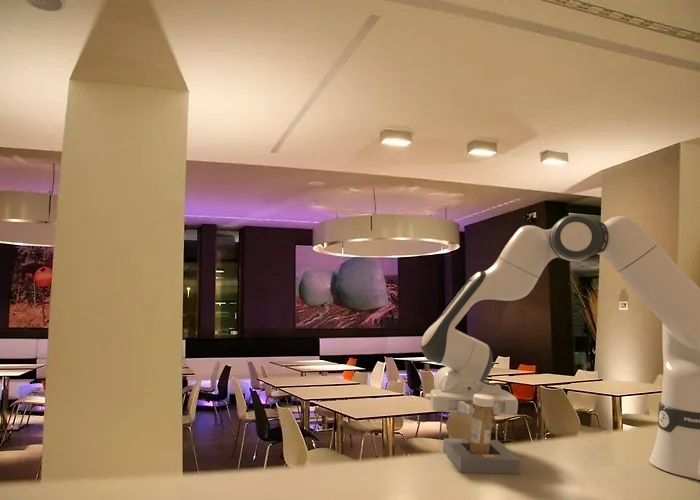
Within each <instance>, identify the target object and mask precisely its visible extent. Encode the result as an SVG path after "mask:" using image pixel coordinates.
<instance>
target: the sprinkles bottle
mask: <svg viewBox="0 0 700 500" xmlns="http://www.w3.org/2000/svg"><path fill="white" fill-rule="evenodd" d="M473 403H474V404H473V406H474V407H475V411H474V412H475V414H474V415H471V426H470V428H471V429H470V437H469V439H470V440H471V441H470V450H469V453H470V454H489V448H490V440H491V437H492V424H493V423H492V422H493V416H492V411H493V406H494V397H493V396H491V395H488V394H475V395H474V397H473Z"/></svg>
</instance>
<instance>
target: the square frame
mask: <svg viewBox="0 0 700 500" xmlns="http://www.w3.org/2000/svg"><path fill="white" fill-rule="evenodd" d="M470 441H471V440H470V438H443V442H442V452H443V453H444V455H445V454H447V456H446V457H447V458H448V459H449V461H450V462H451V463H452V464H453V466H454V467H455V468H456V469H457V471H458V472H459V473H460V474H461V473H462V474H463V473H466V474H468V473H470V474H495V473H509V474H508V475H520V470H521V469H520V468H521V459H520V458H519V457H518V456H516V455H515V454H514V453H513V452H512V451H511V450H510V449H509V448H507V447H506V446H505V445H504V444H503V443H502V442H501V441H499V440H498V439H490V448H489V454H470V453H469V450H470ZM480 472H481V473H480ZM517 473H518V474H517Z"/></svg>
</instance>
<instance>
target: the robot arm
mask: <svg viewBox="0 0 700 500" xmlns="http://www.w3.org/2000/svg"><path fill="white" fill-rule="evenodd" d="M595 255H599V256H601V257H603V258H604V259H605V260H606V261H608V262H609V263H610V265H611V266H612V267H613V269H615V271H616V272H617V273H618V274H619V275H620V276H621V278H622V279H623V280H624V281H625V282H626V284H627V285H628V286H629V288H630V289H631V290H632V291H633V292H634V293H635V295H636V296H637V297H638V298H639V299H640V300H641V301H642V302H643V303H644V305H646V306H647V307H648V308H649V310H651V311H652V313H654V315H655V316H656V317H657V318H658V319H659V320H660V322H661V323H662V328H661V329H662V331H661V332H662V334H661V335H662V361H663V362H662V363H663V364H662V365H663V371H662V372H663V373H662V388H661V401H660V402H658V412H657V425H658V428H657V433H656V437H655V442H654V445H653V449H652V451H651V455H650V456H649V458H648V461H649V463H650V464H651V465H653V466H654V467H656V468H658V469H660V470H662V471H665V472H668V473H671V474H674V475H678V476H681V477H685V478H690V479H694V480H697V481H700V287H699V286H698V285H697V283H695V282H694V281H693V280H692V279H691V278H690V277H689V276H688V275H687V274H686V273H684V271H683V270H682V269H681V268H680V267H679V266H678V265H677V264H676V262H675V261H674V260H673V259H672V258H671V257H670V255H668V254H667V252H666V250H664V249H663V248H662V246H661V245H660V244H659V243H658V242H657V241H656V240H655V238H654V237H653V236H651V234H650V233H648V231H646V230H645V229H644V228H643V226H641V225H639V223H637V222H636V221H635V220H633V219H632V218H631V217H628V216H626V215H617V216H613V217H611V218H608V219H607V220H605V221H604V222H601V221H599V220H596V219H593V218H590V217H588V216H585V215H582V214H570V215H566V216H564V217H562V218H561V219H559V220H558V221H557V222H556V223H555V224H554V225H553V226H552V227H551V228H549V229H545V228H544V229H543V228H541V227H539V226H536V225H530V224H529V225H528V224H527V225H523V226H520V227H519V228H518V229H517V230H516V231H515V232H514V234H513V235H512V236H511V238H510V239H509V241H508V242H507V243H506V244H505V245H504V248H503V249H502V251H501V252H500V255H499V256H498V257H497V259H496V260H495V262H494V263H493V264H492V265H491V266H490V267H488V269H486V270H484V271H477V272H476V273H475V274H473V275H472V276H471V277H470V278H469V279H468V280H467V282H466V283H465V284H463V286H462V287H461V289H460V290H459V291H458V292H457V294H456V295H455V296H454V297H453V299H452V300H451V301H450V302H449V304H448V305H447V306H446V308H445V309H444V310H443V311H442V312H441V314H440V315H439V316H438V318H436V320H435V321H434V322H433V323H432V324H431V325H430V326H429V327H428V328H427V330H425V332H424V334H423V336H422V338H421V339H420V348H421V351H422V354H423V355H424V357H425V359H426V360H427V361H430V362H434V363H436V364H439V365H442V366H444V367H441V368H440V369H438V370H437V371H436V373H435V374H434V377H433V386H434V389H431V390H430V392H429V393H427V392H426V393H425V394H424V398H425V399H426V400H428V401H429V407H430V408H431V410H432V411H434V412H439V413H441V412H442V413H443V412H444V413H456V414H458V415H461V416H473V415H474V414H475V412H474V411H475V407H474V406H473V404H474V403H473V397H474V395H475V394H488V395H491V396H493V397H494V406H493V411H492V417H499V415H507V416H508V415H509V416H510V415H511V416H516V415H517V413H518V408H519V407H518V406H519V400H518V398H517V397H516V396H514V395H513V394H512V393H510V392H509V391H507V390H505V389H502V386H501V385H500V384H497V383H492V382H487V381H486V380H487V378H488V377H489V375H490V372H491V370H492V368H493V363H494V361H493V353H492V349H491V347H490V346H489V344H487V343H485V342H483V341H481V340H479V339H477V338H475V337H473V336H470V335H468V334H467V333H464V332H462V331H460V330H458V329H456V328H455V327H456V326H458V324H459V323H460V322H461V320H462V319H463V318H464V317H465V315H466V314H467V312H468V311H470V309H471V307H473V305H475V304H476V303H477V302H480V301H483V300H484V301H486V300H487V301H488V300H496V301H505V302H506V301H507V302H508V301H510V302H511V301H517V300H521V299H523V298H525V297H526V296H528V295H529V294H530V292H532V291H533V289H534V287H535V285H536V284H537V282H538V281H539V280H540V279H539V278H541V275H542V273H543V271H544V270H545V268H546V267H547V266H548V264H549V262H551V261H552V260H554V259H560V260H565V261H569V262H579V261H580V262H581V261H583V260H586V259H588V258H590V257H592V256H595Z"/></svg>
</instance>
